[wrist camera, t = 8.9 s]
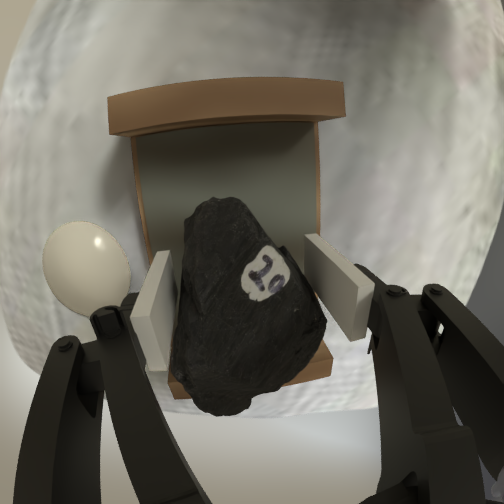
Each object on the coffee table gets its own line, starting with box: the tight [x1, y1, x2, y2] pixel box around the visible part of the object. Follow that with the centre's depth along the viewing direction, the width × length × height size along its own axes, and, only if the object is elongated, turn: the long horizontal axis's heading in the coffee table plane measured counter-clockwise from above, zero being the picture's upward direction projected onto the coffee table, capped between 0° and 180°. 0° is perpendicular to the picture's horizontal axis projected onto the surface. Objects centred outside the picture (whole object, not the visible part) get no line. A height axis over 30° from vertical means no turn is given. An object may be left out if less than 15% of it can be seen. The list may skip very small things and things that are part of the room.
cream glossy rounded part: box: [42, 221, 131, 316], centre depth 19 cm, size 8×8×1 cm
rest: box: [107, 77, 346, 400], centre depth 17 cm, size 20×12×5 cm, turn 4°
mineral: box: [170, 197, 327, 416], centre depth 14 cm, size 10×9×6 cm
